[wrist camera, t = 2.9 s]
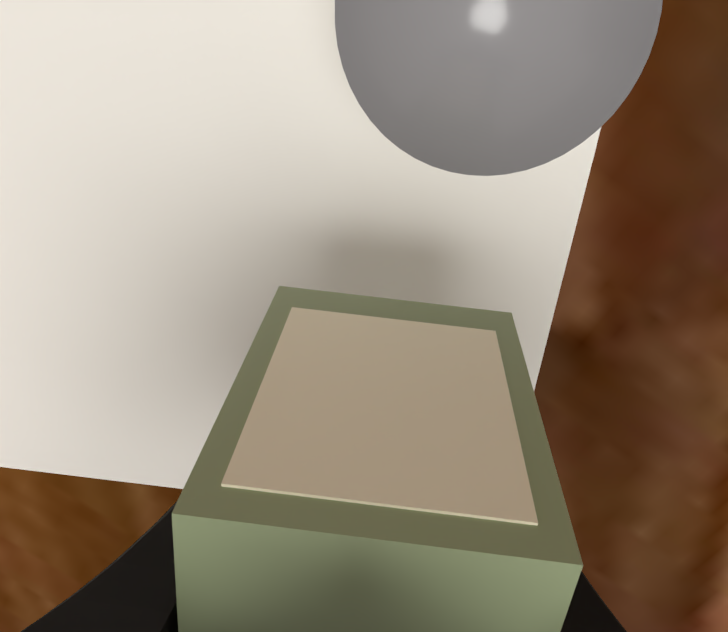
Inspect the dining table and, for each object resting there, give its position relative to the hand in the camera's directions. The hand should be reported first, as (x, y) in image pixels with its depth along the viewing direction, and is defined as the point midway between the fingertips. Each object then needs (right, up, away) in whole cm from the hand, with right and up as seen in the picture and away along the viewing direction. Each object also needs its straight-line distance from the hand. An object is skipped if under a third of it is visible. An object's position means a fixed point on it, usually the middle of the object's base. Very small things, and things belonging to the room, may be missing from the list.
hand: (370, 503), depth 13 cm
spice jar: (+2, +11, +2) cm, 11 cm away
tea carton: (0, +1, +1) cm, 2 cm away
